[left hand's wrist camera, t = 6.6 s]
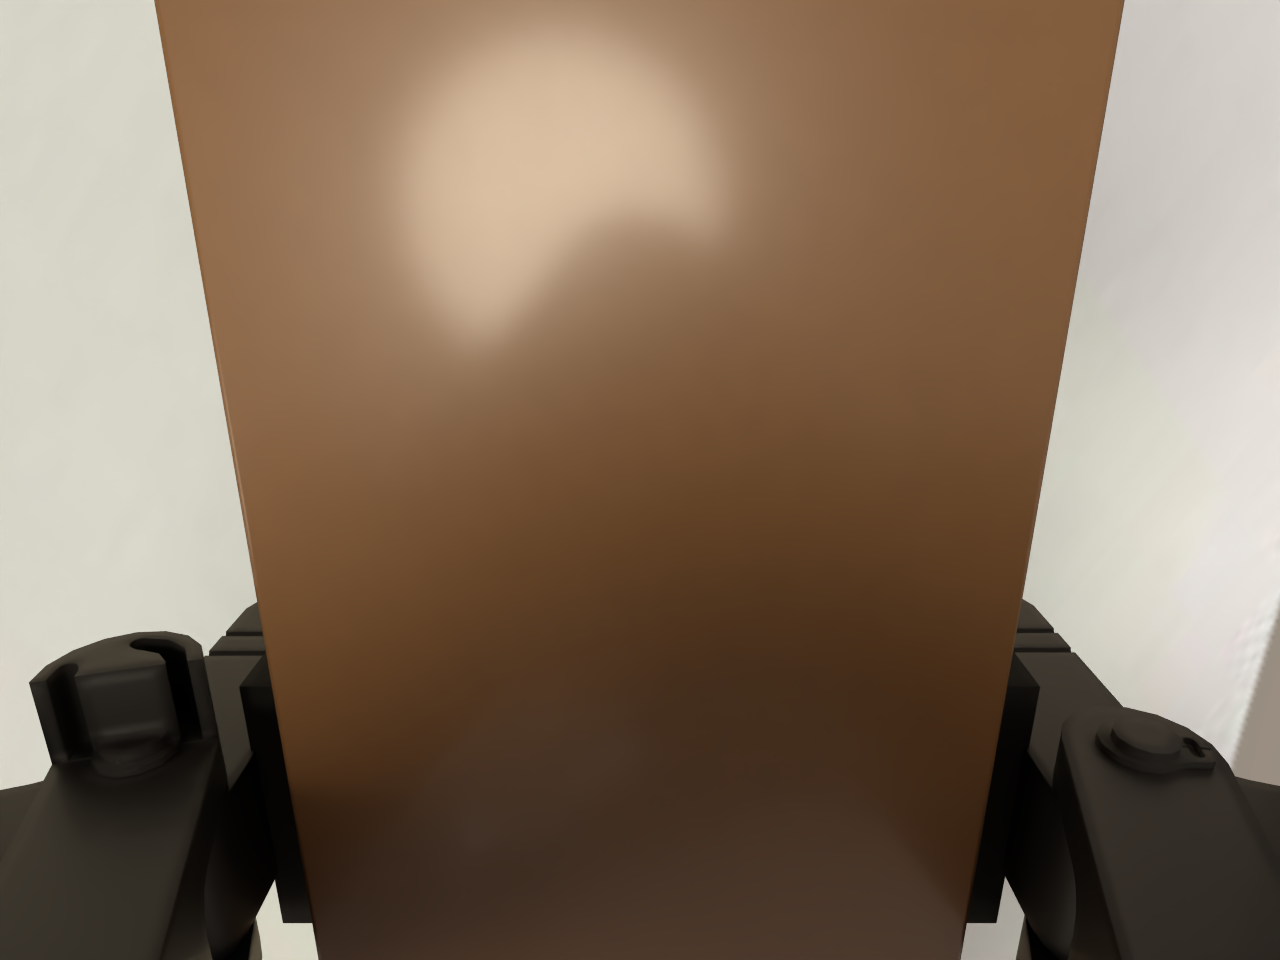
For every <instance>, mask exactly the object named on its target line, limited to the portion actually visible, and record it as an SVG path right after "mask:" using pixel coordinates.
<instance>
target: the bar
mask: <svg viewBox="0 0 1280 960" xmlns="http://www.w3.org/2000/svg"><path fill="white" fill-rule="evenodd" d="M154 1H155V7H156V13H157V19H158V24H159V30H160V36H161V42H162V48H163V54H164V59H165V65H166V71H167V77H168V83H169V89H170V95H171V100H172V106H173V112H174V118H175V124H176V130H177V135H178V141H179V147H180V153H181V159H182V165H183V170H184V176H185V182H186V188H187V194H188V200H189V205H190V211H191V217H192V223H193V229H194V235H195V240H196V246H197V252H198V258H199V264H200V270H201V276H202V281H203V287H204V293H205V299H206V305H207V311H208V316H209V322H210V328H211V334H212V340H213V346H214V351H215V357H216V363H217V369H218V375H219V381H220V386H221V392H222V398H223V404H224V410H225V416H226V421H227V427H228V433H229V439H230V445H231V451H232V456H233V462H234V468H235V474H236V480H237V486H238V492H239V497H240V503H241V509H242V515H243V521H244V527H245V532H246V538H247V544H248V550H249V556H250V562H251V567H252V573H253V579H254V585H255V591H256V597H257V602H258V608H259V614H260V620H261V626H262V632H263V637H264V643H265V649H266V655H267V661H268V667H269V673H270V678H271V684H272V690H273V696H274V702H275V708H276V713H277V719H278V725H279V731H280V737H281V743H282V748H283V754H284V760H285V766H286V772H287V778H288V783H289V789H290V795H291V801H292V807H293V813H294V818H295V824H296V830H297V836H298V842H299V848H300V854H301V859H302V865H303V871H304V877H305V883H306V889H307V894H308V900H309V906H310V912H311V918H312V924H313V929H314V935H315V941H316V947H317V953H318V959H319V960H960V959H961V953H962V948H963V942H964V936H965V930H966V924H967V918H968V913H969V907H970V901H971V895H972V889H973V883H974V877H975V872H976V866H977V860H978V854H979V848H980V842H981V837H982V831H983V825H984V819H985V813H986V807H987V801H988V796H989V790H990V784H991V778H992V772H993V766H994V760H995V755H996V749H997V743H998V737H999V731H1000V725H1001V720H1002V714H1003V708H1004V702H1005V696H1006V690H1007V684H1008V679H1009V673H1010V667H1011V661H1012V655H1013V649H1014V644H1015V638H1016V632H1017V626H1018V620H1019V614H1020V608H1021V603H1022V597H1023V591H1024V585H1025V579H1026V573H1027V568H1028V562H1029V556H1030V550H1031V544H1032V538H1033V532H1034V527H1035V521H1036V515H1037V509H1038V503H1039V497H1040V492H1041V486H1042V480H1043V474H1044V468H1045V462H1046V456H1047V451H1048V445H1049V439H1050V433H1051V427H1052V421H1053V415H1054V410H1055V404H1056V398H1057V392H1058V386H1059V380H1060V375H1061V369H1062V363H1063V357H1064V351H1065V345H1066V339H1067V334H1068V328H1069V322H1070V316H1071V310H1072V304H1073V299H1074V293H1075V287H1076V281H1077V275H1078V269H1079V263H1080V258H1081V252H1082V246H1083V240H1084V234H1085V228H1086V223H1087V217H1088V211H1089V205H1090V199H1091V193H1092V187H1093V182H1094V176H1095V170H1096V164H1097V158H1098V152H1099V146H1100V141H1101V135H1102V129H1103V123H1104V117H1105V111H1106V106H1107V100H1108V94H1109V88H1110V82H1111V76H1112V70H1113V65H1114V59H1115V53H1116V47H1117V41H1118V35H1119V30H1120V24H1121V18H1122V12H1123V6H1124V0H154Z"/></svg>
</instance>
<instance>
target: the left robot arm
mask: <svg viewBox="0 0 1280 960" xmlns="http://www.w3.org/2000/svg"><path fill="white" fill-rule="evenodd" d="M29 684H30V688H31V691H32V695H33V698H34V702H35V706H36V709H37V713H38V716H39V720H40V723H41V727H42V730H43V734H44V737H45V741H46V744H47V748H48V751H49V755H50V758H51V762H52V766H51V768H50V770H49V772H48V773H47V775H46V777H45V779H44V781H41V782H37V783H33V784H29V785H24V786H19V787H14V788H9V789H4V790H0V960H262V951H261V943H260V936H259V931H258V926H257V921H256V915H257V913H258V912H259V910H260V908H261V906H262V904H263V902H264V900H265V898H266V896H267V894H268V892H269V890H270V888H271V886H272V884H273V882H274V880H275V882H276V888H277V893H278V898H279V904H280V909H281V915H282V920H283V923H312V918H311V912H310V906H309V900H308V894H307V889H306V883H305V877H304V871H303V865H302V859H301V854H300V848H299V842H298V836H297V830H296V824H295V818H294V813H293V807H292V801H291V795H290V789H289V783H288V778H287V772H286V766H285V760H284V754H283V748H282V743H281V737H280V731H279V725H278V719H277V713H276V708H275V702H274V696H273V690H272V684H271V678H270V673H269V667H268V661H267V655H266V649H265V643H264V637H263V632H262V626H261V620H260V614H259V608H258V602H257V603H255V604H253V605H252V606H250V607H248V608H247V609H246V610H245V611H244V612H243V613H242V614H241V615H240V616H239V618H238V619H237V620H236V621H235V622H234V623H233V624H232V626H231V627H230V628H229V629H228V630H227V631H226V636H222V637H221V638H220V639H219V640H218V642H217V643H216V644H215V645H214V646H213V647H212V648H211V650H210V651H209V656H203V651H202V646H201V645H200V644H199V643H198V642H196V641H195V640H194V639H192V638H191V637H190V636H188V635H183V634H177V633H172V632H167V631H160V632H137V633H132V634H127V635H122V636H117V637H112V638H107V639H103V640H101V641H98V642H95V643H92V644H90V645H87V646H84V647H81V648H79V649H76V650H73V651H71V652H70V653H68V654H66V655H64V656H62V657H61V658H59V659H57V660H55V661H54V662H52V663H50V664H48V665H47V666H45V667H44V668H43V669H42V670H41V671H40V672H39V673H38V674H37V675H36V676H35V677H34V678H33V679H32V680H31V681H30V682H29ZM1005 877H1006V879H1007V881H1008V883H1009V884H1010V886H1011V888H1012V890H1013V892H1014V894H1015V896H1016V898H1017V900H1018V902H1019V904H1020V906H1021V908H1022V910H1023V912H1024V914H1025V916H1024V921H1023V926H1022V931H1021V936H1020V941H1019V946H1018V951H1017V956H1016V960H1280V786H1276V785H1271V784H1266V783H1261V782H1256V781H1251V780H1247V779H1243V778H1239V777H1235V776H1234V774H1233V772H1232V770H1231V768H1230V766H1229V764H1228V763H1227V762H1226V760H1225V759H1224V758H1223V757H1222V756H1221V755H1220V753H1219V752H1218V751H1217V750H1216V749H1215V747H1214V746H1213V745H1212V744H1210V743H1209V742H1207V741H1206V740H1205V739H1203V738H1202V737H1200V736H1199V735H1197V734H1196V733H1194V732H1193V731H1191V730H1190V729H1188V728H1186V727H1184V726H1182V725H1179V724H1177V723H1175V722H1172V721H1170V720H1168V719H1165V718H1163V717H1161V716H1158V715H1155V714H1151V713H1147V712H1143V711H1139V710H1135V709H1130V708H1126V707H1123V706H1122V705H1121V704H1120V703H1119V702H1118V701H1117V700H1116V698H1115V697H1114V696H1113V695H1112V694H1111V693H1110V692H1109V690H1108V689H1107V688H1106V687H1105V686H1104V685H1103V684H1102V683H1101V681H1100V680H1099V679H1098V678H1097V677H1096V676H1095V675H1094V673H1093V672H1092V671H1091V670H1090V669H1089V668H1088V667H1087V666H1086V664H1085V663H1084V662H1083V661H1082V660H1081V659H1080V658H1079V656H1078V655H1077V654H1076V653H1071V647H1070V646H1069V645H1068V644H1067V643H1066V642H1065V641H1064V640H1063V638H1062V637H1061V636H1060V635H1059V634H1058V633H1054V628H1053V627H1052V626H1051V625H1050V624H1049V623H1048V621H1047V620H1046V619H1045V618H1044V617H1043V616H1042V615H1041V613H1040V612H1039V611H1038V610H1037V609H1036V608H1035V607H1034V606H1033V605H1032V604H1030V603H1028V602H1026V601H1025V600H1023V599H1022V603H1021V608H1020V614H1019V620H1018V626H1017V632H1016V638H1015V644H1014V649H1013V655H1012V661H1011V667H1010V673H1009V679H1008V684H1007V690H1006V696H1005V702H1004V708H1003V714H1002V720H1001V725H1000V731H999V737H998V743H997V749H996V755H995V760H994V766H993V772H992V778H991V784H990V790H989V796H988V801H987V807H986V813H985V819H984V825H983V831H982V837H981V842H980V848H979V854H978V860H977V866H976V872H975V877H974V883H973V889H972V895H971V901H970V907H969V913H968V918H967V923H996V922H997V917H998V911H999V906H1000V900H1001V895H1002V890H1003V884H1004V879H1005Z"/></svg>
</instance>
